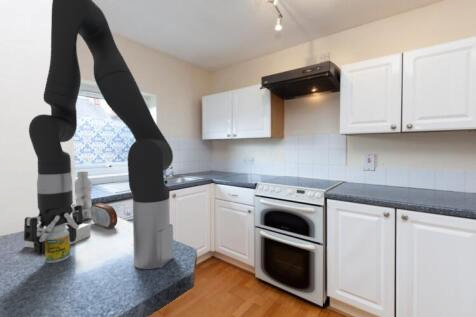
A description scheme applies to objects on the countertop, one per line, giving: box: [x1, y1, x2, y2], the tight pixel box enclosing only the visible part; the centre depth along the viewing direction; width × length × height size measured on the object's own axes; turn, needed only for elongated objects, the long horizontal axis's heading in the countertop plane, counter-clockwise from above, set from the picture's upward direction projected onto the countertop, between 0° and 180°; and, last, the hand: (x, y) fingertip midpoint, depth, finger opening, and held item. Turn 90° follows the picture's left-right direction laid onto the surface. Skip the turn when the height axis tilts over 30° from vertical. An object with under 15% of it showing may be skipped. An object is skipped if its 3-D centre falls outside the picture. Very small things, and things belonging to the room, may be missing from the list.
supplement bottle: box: [44, 223, 71, 264], centre depth 63 cm, size 5×5×10 cm
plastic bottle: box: [74, 171, 93, 221], centre depth 96 cm, size 6×7×20 cm
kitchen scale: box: [24, 222, 91, 249], centre depth 75 cm, size 12×12×5 cm
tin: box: [90, 202, 118, 229], centre depth 89 cm, size 15×3×8 cm, turn 58°
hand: (57, 247), depth 63 cm, fingers open, 8 cm apart
